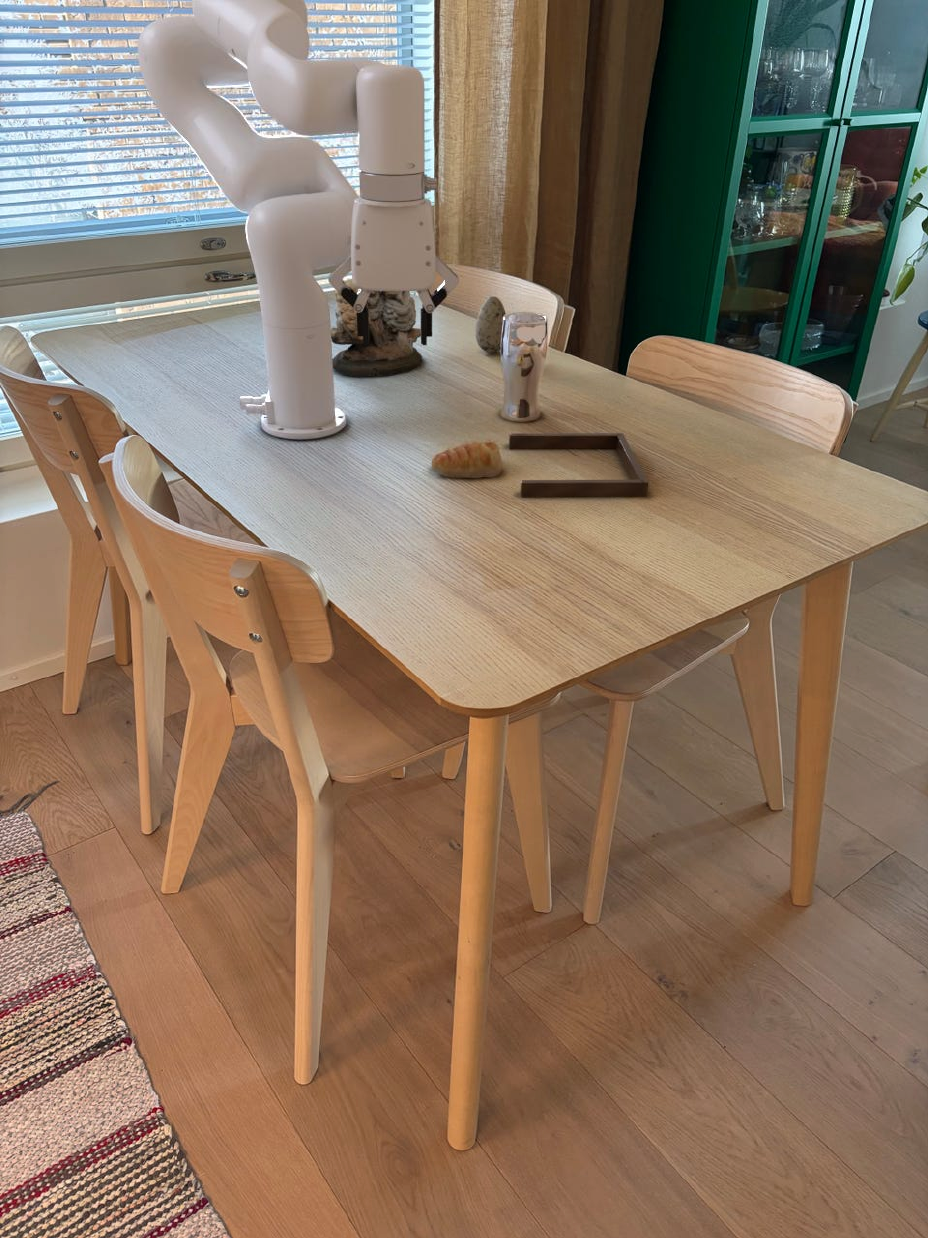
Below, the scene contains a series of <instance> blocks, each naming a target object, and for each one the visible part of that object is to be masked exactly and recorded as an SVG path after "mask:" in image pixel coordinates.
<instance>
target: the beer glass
mask: <svg viewBox="0 0 928 1238" xmlns="http://www.w3.org/2000/svg"><path fill="white" fill-rule="evenodd" d="M547 352H548V316H546V315H545V314H542V313H539V312H533V311H512V312H508V313H506V314H505V315H504V316H503V325H502V333H501V349H500V365H501V372H502V380H503V400H502V405H501V408H500V416H501V417H502V418H503V419H505V420H507V421H509V422H510V421H511V422H517V423H528V422H532V421H535V420H536V421H537V419H539V418H540V416H541V410H540V409H541V408H540V401H539V394H540V393H539V392H540V387H541V382H542V377H543V373H544V368H545V365H546V359H547Z"/></svg>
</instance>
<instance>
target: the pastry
mask: <svg viewBox="0 0 928 1238" xmlns="http://www.w3.org/2000/svg"><path fill="white" fill-rule="evenodd" d="M430 467H431V469H432V470H433V471H434V472H436V473H437V474H439V475H441V476H444V477H446V478H451V479H454V478H461V479H470V478H471V479H478V478H480V479H481V478H483V477H486V478H492V477H493V478H494V477H495V476H499V475H500V474H501V472H502V471H503V469H504V467H503V460H502V456H501V453H500V448H499V446H498V444H497V442H496V441H494V440H490V439H487V440H485V441H483V442H482V441H472V442H469V441H465V442H463V443H461V444H460V445H456V446H455V447H452V448H447V449H445V450H443V451H441V452H439V453H437V454H436V455H434V456H433V458H432V461H431V466H430Z"/></svg>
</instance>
